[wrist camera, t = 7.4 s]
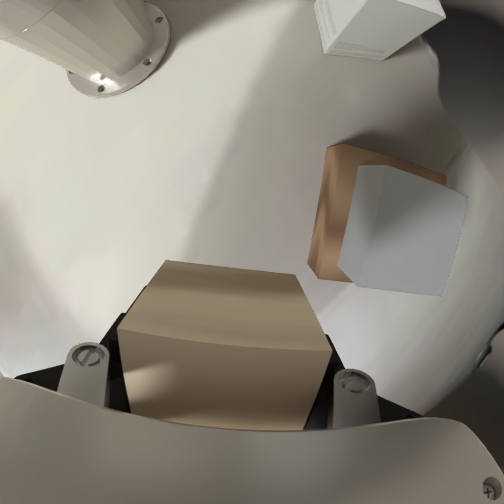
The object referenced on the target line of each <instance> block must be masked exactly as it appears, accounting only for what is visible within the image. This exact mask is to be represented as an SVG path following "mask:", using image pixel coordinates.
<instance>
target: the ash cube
mask: <svg viewBox="0 0 504 504" xmlns="http://www.w3.org/2000/svg"><path fill="white" fill-rule="evenodd" d="M117 333H118V341H119V348H120V355H121V362H122V368H123V374H124V380H125V385H126V390H127V395H128V400H129V405H130V409H131V414H135V415H140V416H144V417H149V418H154V419H160V420H166V421H172V422H178V423H185V424H192V425H200V426H209V427H219V428H231V429H248V430H303V427H304V425H305V423H306V420H307V418H308V415H309V413H310V411H311V408H312V406H313V403H314V401H315V398H316V395H317V393H318V390H319V388H320V385H321V382H322V380H323V377H324V374H325V371H326V368H327V366H328V363H329V360H330V357H331V354H332V351H333V350H332V348H331V346H330V344H329V342H328V340H327V338H326V336H325V334H324V332H323V330H322V328H321V326H320V324H319V322H318V320H317V317H316V315H315V313H314V311H313V309H312V307H311V305H310V303H309V301H308V299H307V297H306V295H305V293H304V291H303V289H302V287H301V285H300V283H299V281H298V280H297V278H296V276H295V274H285V273H275V272H266V271H257V270H247V269H238V268H229V267H221V266H212V265H203V264H195V263H186V262H178V261H170V260H166V261H165V262H164V263H163V265H162V266H161V267H160V269H159V270H158V271H157V273H156V274H155V275H154V277H153V278H152V279H151V281H150V282H149V283H148V285H147V286H146V288H145V289H144V290H143V292H142V293H141V294H140V296H139V297H138V299H137V300H136V301H135V303H134V304H133V306H132V307H131V309H130V310H129V311H128V313H127V314H126V316H125V317H124V319H123V320H122V322H121V323H120V324H119V326H118V327H117Z"/></svg>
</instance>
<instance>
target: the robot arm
mask: <svg viewBox="0 0 504 504" xmlns="http://www.w3.org/2000/svg"><path fill="white" fill-rule="evenodd" d="M0 39H2V40H4V41H6V42H9V43H11V44H13V45H16V46H18V47H20V48H23V49H25V50H27V51H29V52H32V53H34V54H36V55H38V56H40V57H42V58H45V59H47V60H49V61H51V62H53V63H55V64H57V65H59V66H61V67H63V68H65V69H66V71H67V76H68V79H69V81H70V83H71V85H72V86H73V87H74V88H75V89H76V90H77V91H79V92H81V93H82V94H85V95H87V96H91V97H96V98H100V97H110V96H114V95H117V94H120V93H122V92H125V91H127V90H129V89H130V88H132V87H134V86H136V85H137V84H138V83H140V82H141V81H142V80H144V79H145V78H146V77H147V76H148V75H149V74H150V73H151V72H152V71H153V70H154V69H155V68H156V66H157V65H158V64H159V62H160V61H161V59H162V58H163V56H164V54H165V52H166V50H167V47H168V44H169V40H170V25H169V23H168V20H167V18H166V16H165V15H164V13H163V12H162V11H161V10H160V9H159V8H158V7H156V6H155V5H153V4H151V3H147V2H143V1H142V0H0ZM149 63H151V64H150V65H148V64H149ZM145 288H146V286H145V287H144V288H143V290H144V289H145ZM143 290H142V291H141V292H140V294H141V293H142V292H143ZM140 294H139V295H138V297H139V296H140ZM138 297H137V298H136V299H135V301H136V300H137V299H138ZM135 301H134V302H133V303H132V305H131V306H130V308H129V309H128V310H127V312H126V313H121V314H120V315H119V317H118V318H117V319H116V321H115V322H114V324H113V325H112V326H111V328H110V329H109V331H108V332H107V333H106V335H105V336H104V338H103V339H102V341H101V342H100V343H99V344H98V343H93V342H86V343H81V344H78V345H76V346H74V347H73V348H72V349H71V350H70V351H69V353H68V355H67V359H66V362H65V364H63V365H59V366H55V367H51V368H47V369H43V370H39V371H35V372H31V373H27V374H22V375H19V376H17V377H15V378H14V379H13V378H9V377H0V504H504V475H503V473H502V471H501V470H500V468H499V467H498V465H497V464H496V462H495V461H494V459H493V457H492V456H491V454H490V453H489V452H488V451H487V449H486V448H485V446H484V445H483V444H482V443H481V441H480V440H479V439H478V437H477V436H476V435H475V434H474V433H473V432H472V431H471V430H470V429H469V428H468V427H467V426H465V425H464V424H462V423H460V422H458V421H454V420H450V419H442V418H424V417H423V416H422V415H420V414H418V413H416V412H414V411H411V410H409V409H407V408H404V407H402V406H400V405H397V404H395V403H393V402H391V401H389V400H386V399H384V398H382V397H380V396H378V395H377V393H376V387H375V383H374V381H373V379H372V378H371V377H370V376H369V375H367V374H366V373H364V372H362V371H360V370H356V369H345V368H344V365H343V363H342V361H341V359H340V357H339V355H338V353H337V351H336V349H335V347H334V345H333V343H332V341H331V339H330V337H329V336H328V335H327V334H325V336H326V338H327V340H328V342H329V344H330V346H331V348H332V350H333V351H332V354H331V357H330V360H329V363H328V366H327V368H326V371H325V374H324V377H323V380H322V382H321V385H320V388H319V390H318V393H317V395H316V398H315V401H314V403H313V406H312V408H311V411H310V413H309V415H308V418H307V420H306V423H305V425H304V427H303V430H248V429H231V428H219V427H209V426H200V425H192V424H185V423H178V422H172V421H166V420H160V419H154V418H149V417H144V416H140V415H135V414H131V409H130V405H129V400H128V395H127V390H126V385H125V380H124V374H123V368H122V362H121V355H120V348H119V341H118V333H117V327H118V326H119V324H120V323H121V322H122V320H123V319H124V317H125V316H126V314H127V313H128V311H129V310H130V309H131V307H132V306H133V304H134V303H135ZM317 320H318V319H317ZM318 322H319V321H318ZM319 324H320V323H319ZM320 326H321V325H320Z"/></svg>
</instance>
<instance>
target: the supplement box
mask: <svg viewBox="0 0 504 504" xmlns="http://www.w3.org/2000/svg"><path fill="white" fill-rule="evenodd" d="M314 9H315V14H316V18H317V23H318V27H319V32H320V36H321V41H322V46H323V51H324V54H330V55H342V56H351V57H359V58H367V59H374V60H382V61H383V60H385V59H386V58H387V57H389V56H390V55H391V54H393V53H394V52H396V51H397V50H398V49H400V48H401V47H403V46H404V45H406V44H407V43H408V42H410V41H411V40H413V39H414V38H416V37H417V36H419V35H420V34H422V33H423V32H425V31H426V30H428V29H429V28H431V27H432V26H433V25H435V24H437V23H438V22H440V21H442V20H443V19H445V18H446V16H445V13H444V11H443V9H442V6H441V4H440V2H439V0H316V2H315V4H314Z"/></svg>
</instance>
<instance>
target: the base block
mask: <svg viewBox="0 0 504 504" xmlns="http://www.w3.org/2000/svg"><path fill="white" fill-rule="evenodd" d="M358 165H387V166H391V167H394V168H397V169H400V170H402V171H405V172H408V173H411V174H414V175H417V176H419V177H422V178H425V179H427V180H430V181H433V182H435V183H438V184H440V185H443V186H445V184H446V176H445V175H442V174H440V173H437V172H434V171H432V170H429V169H426V168H423V167H421V166H418V165H415V164H412V163H409V162H406V161H403V160H400V159H396V158H393V157H390V156H387V155H383V154H380V153H376V152H373V151H369V150H366V149H362V148H358V147H354V146H350V145H346V144H339V145H335V146H332V147H328V148H327V150H326V157H325V164H324V171H323V177H322V184H321V190H320V196H319V202H318V208H317V214H316V220H315V225H314V231H313V236H312V242H311V247H310V252H309V257H308V262H307V263H308V265H309V266H310V268H311V269H312V270H313V272H314V273H315V275H316V276H317V278H318V279H323V280H333V281H342V282H352V283H353V281H352V280H351V279H350V278H349V277H348V276H347V275H346V274H345V273H344V272H343V271H342V270H341V269H340V268H339V267H338V266H337V264H338V260H339V256H340V251H341V247H342V243H343V239H344V234H345V230H346V226H347V221H348V216H349V212H350V207H351V202H352V197H353V192H354V187H355V181H356V176H357V170H358Z"/></svg>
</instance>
